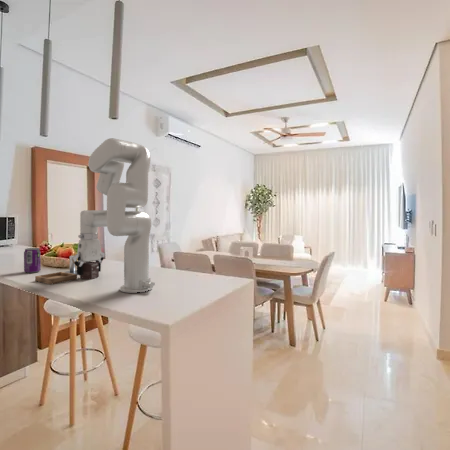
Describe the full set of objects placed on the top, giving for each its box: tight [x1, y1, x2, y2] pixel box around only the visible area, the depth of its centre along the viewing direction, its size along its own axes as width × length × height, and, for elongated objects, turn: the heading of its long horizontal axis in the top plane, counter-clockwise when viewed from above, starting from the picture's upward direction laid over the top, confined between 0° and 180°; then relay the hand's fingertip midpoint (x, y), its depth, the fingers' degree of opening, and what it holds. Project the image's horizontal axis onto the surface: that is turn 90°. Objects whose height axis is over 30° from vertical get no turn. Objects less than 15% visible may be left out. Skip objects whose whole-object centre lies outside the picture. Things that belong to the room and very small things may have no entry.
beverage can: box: [23, 247, 42, 274], centre depth 155 cm, size 7×7×12 cm
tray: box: [34, 271, 78, 285], centre depth 138 cm, size 12×12×2 cm
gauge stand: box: [64, 255, 77, 274], centre depth 152 cm, size 8×8×9 cm
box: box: [79, 261, 100, 280], centre depth 144 cm, size 6×6×7 cm
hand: (89, 272), depth 144 cm, fingers open, 9 cm apart
